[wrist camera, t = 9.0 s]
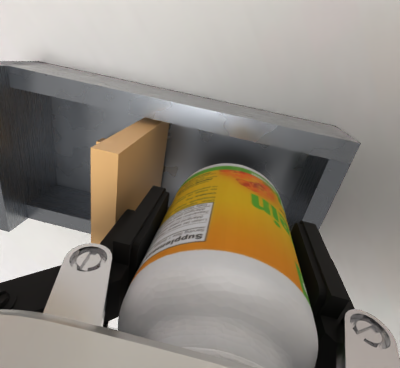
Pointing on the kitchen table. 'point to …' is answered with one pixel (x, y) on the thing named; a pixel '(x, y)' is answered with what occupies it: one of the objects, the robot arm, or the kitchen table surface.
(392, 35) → the kitchen table surface
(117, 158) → the block
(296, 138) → the grey rectangular tray
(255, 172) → the supplement bottle
